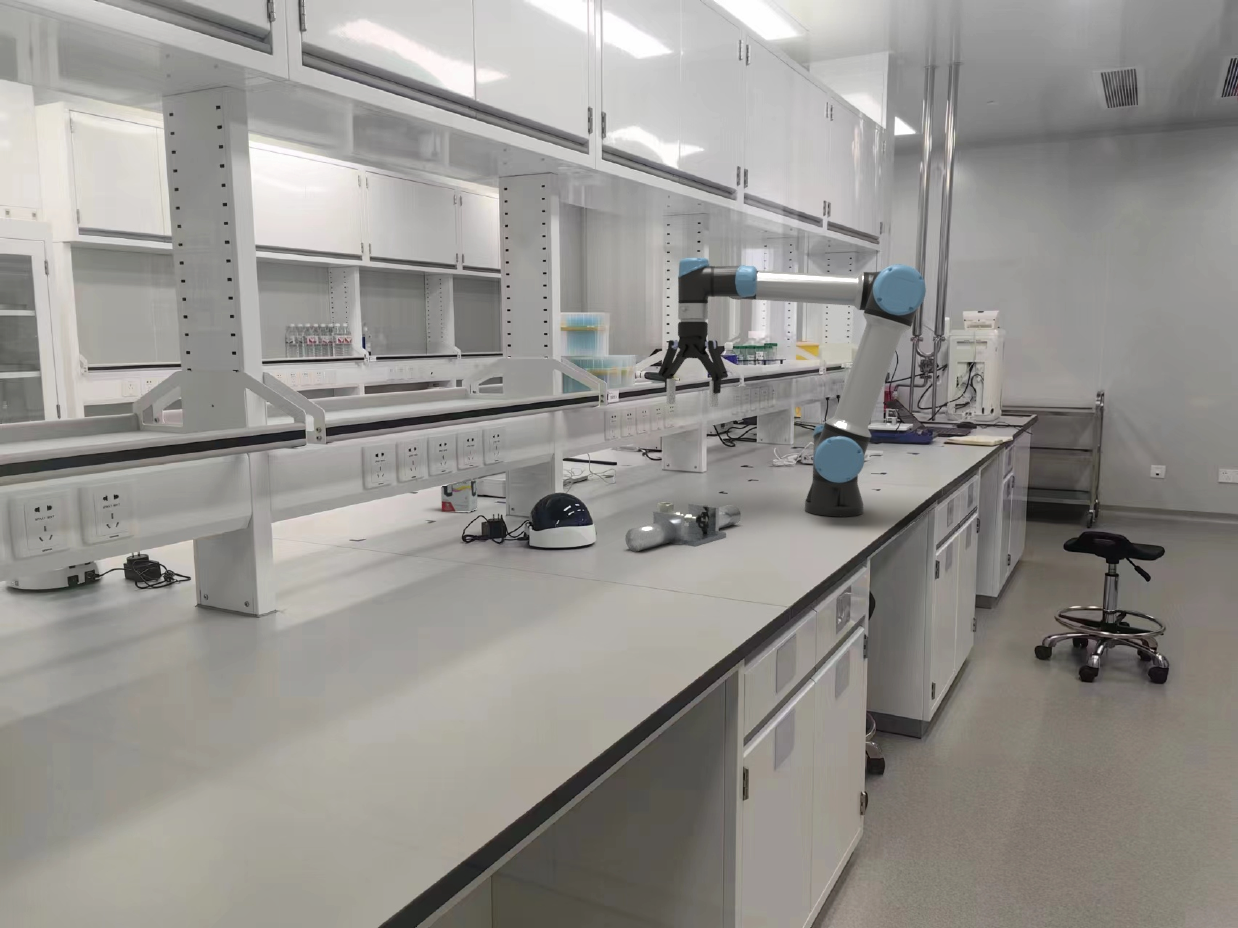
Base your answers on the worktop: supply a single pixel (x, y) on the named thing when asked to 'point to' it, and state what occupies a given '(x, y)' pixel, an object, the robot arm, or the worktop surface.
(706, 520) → the valve
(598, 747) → the worktop surface
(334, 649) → the worktop surface
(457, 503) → the ink box
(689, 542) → the pipe run
